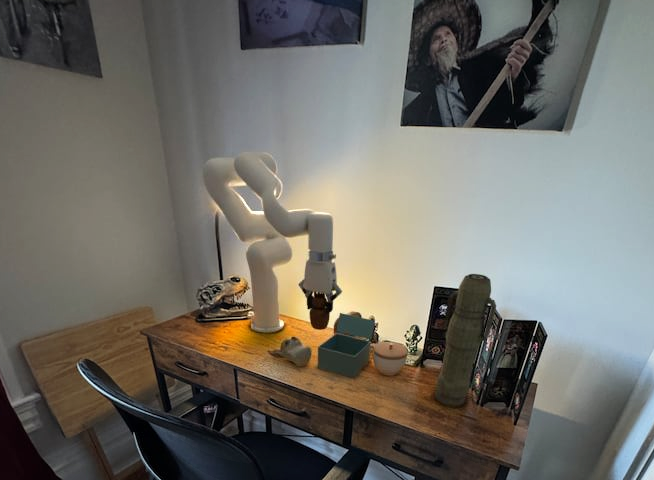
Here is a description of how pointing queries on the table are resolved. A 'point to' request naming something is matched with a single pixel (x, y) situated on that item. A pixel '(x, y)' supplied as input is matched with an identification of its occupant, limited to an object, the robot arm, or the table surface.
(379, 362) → the trinket box
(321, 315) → the wooden figurine
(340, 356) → the carton
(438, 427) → the table surface
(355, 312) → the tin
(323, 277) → the robot arm
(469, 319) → the thermos
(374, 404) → the table surface
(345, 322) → the flap
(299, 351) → the ceramic sculpture
